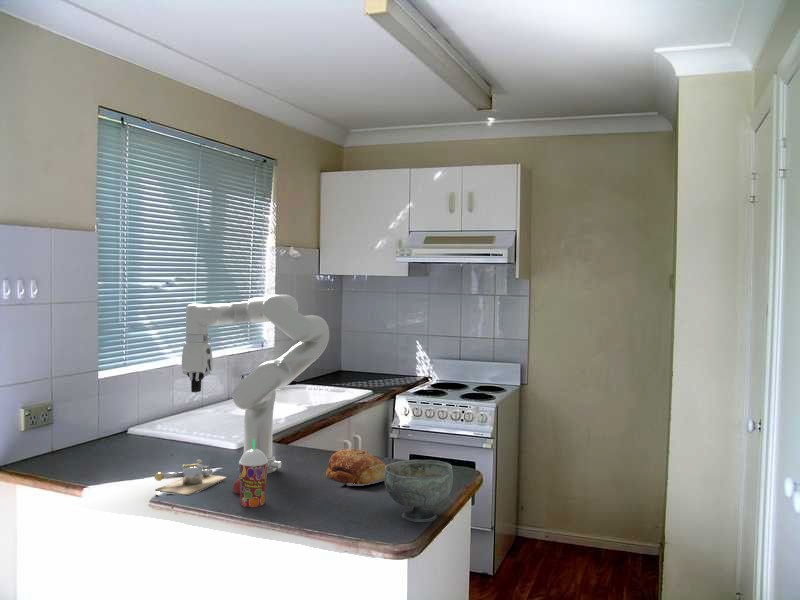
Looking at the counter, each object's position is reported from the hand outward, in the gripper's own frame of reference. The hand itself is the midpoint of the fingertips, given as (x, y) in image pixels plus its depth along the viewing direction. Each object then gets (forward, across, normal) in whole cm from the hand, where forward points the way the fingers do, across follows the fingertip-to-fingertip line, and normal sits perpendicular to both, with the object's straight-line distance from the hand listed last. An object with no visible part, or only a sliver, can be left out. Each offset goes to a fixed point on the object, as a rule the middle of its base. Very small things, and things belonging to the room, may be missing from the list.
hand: (196, 391), depth 237 cm
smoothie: (+27, -41, +28) cm, 57 cm away
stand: (+27, -14, +20) cm, 36 cm away
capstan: (+25, -14, +20) cm, 35 cm away
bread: (+28, -58, -10) cm, 65 cm away
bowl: (+27, -88, +18) cm, 94 cm away
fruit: (+27, -33, +20) cm, 48 cm away
